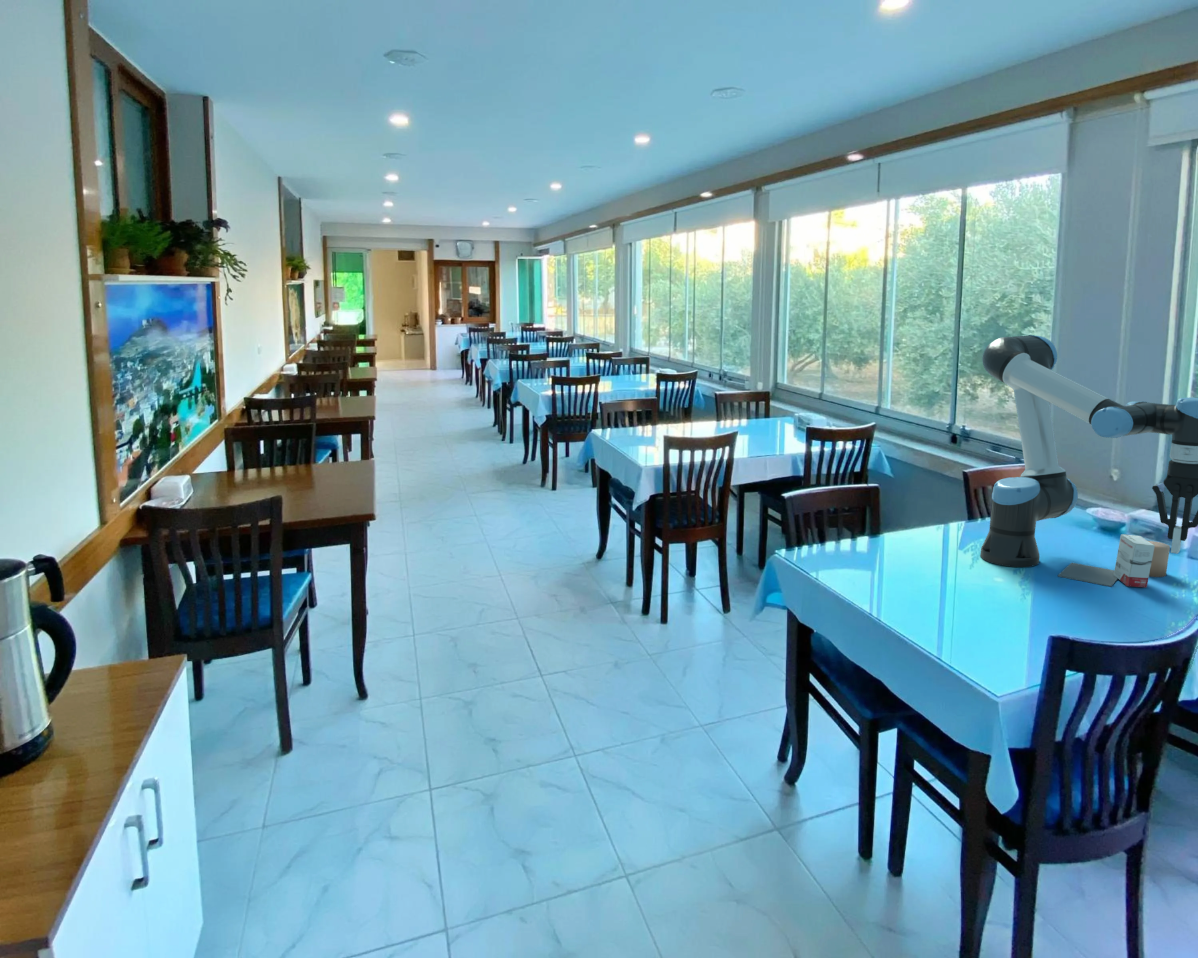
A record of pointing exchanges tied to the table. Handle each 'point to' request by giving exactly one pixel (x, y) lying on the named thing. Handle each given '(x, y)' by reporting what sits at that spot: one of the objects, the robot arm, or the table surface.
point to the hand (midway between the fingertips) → (1175, 551)
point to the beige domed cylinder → (1159, 559)
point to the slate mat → (1089, 574)
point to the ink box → (1134, 560)
